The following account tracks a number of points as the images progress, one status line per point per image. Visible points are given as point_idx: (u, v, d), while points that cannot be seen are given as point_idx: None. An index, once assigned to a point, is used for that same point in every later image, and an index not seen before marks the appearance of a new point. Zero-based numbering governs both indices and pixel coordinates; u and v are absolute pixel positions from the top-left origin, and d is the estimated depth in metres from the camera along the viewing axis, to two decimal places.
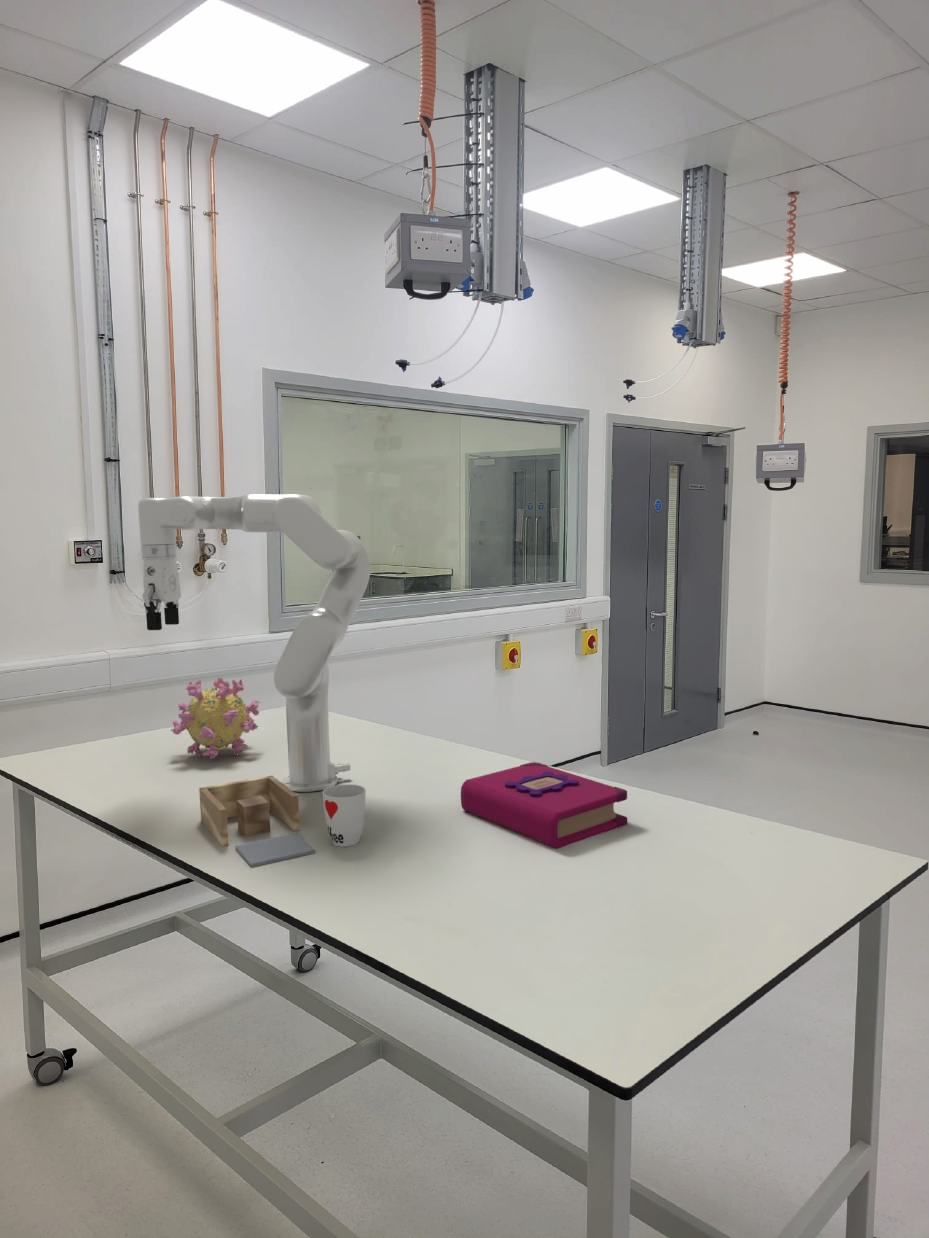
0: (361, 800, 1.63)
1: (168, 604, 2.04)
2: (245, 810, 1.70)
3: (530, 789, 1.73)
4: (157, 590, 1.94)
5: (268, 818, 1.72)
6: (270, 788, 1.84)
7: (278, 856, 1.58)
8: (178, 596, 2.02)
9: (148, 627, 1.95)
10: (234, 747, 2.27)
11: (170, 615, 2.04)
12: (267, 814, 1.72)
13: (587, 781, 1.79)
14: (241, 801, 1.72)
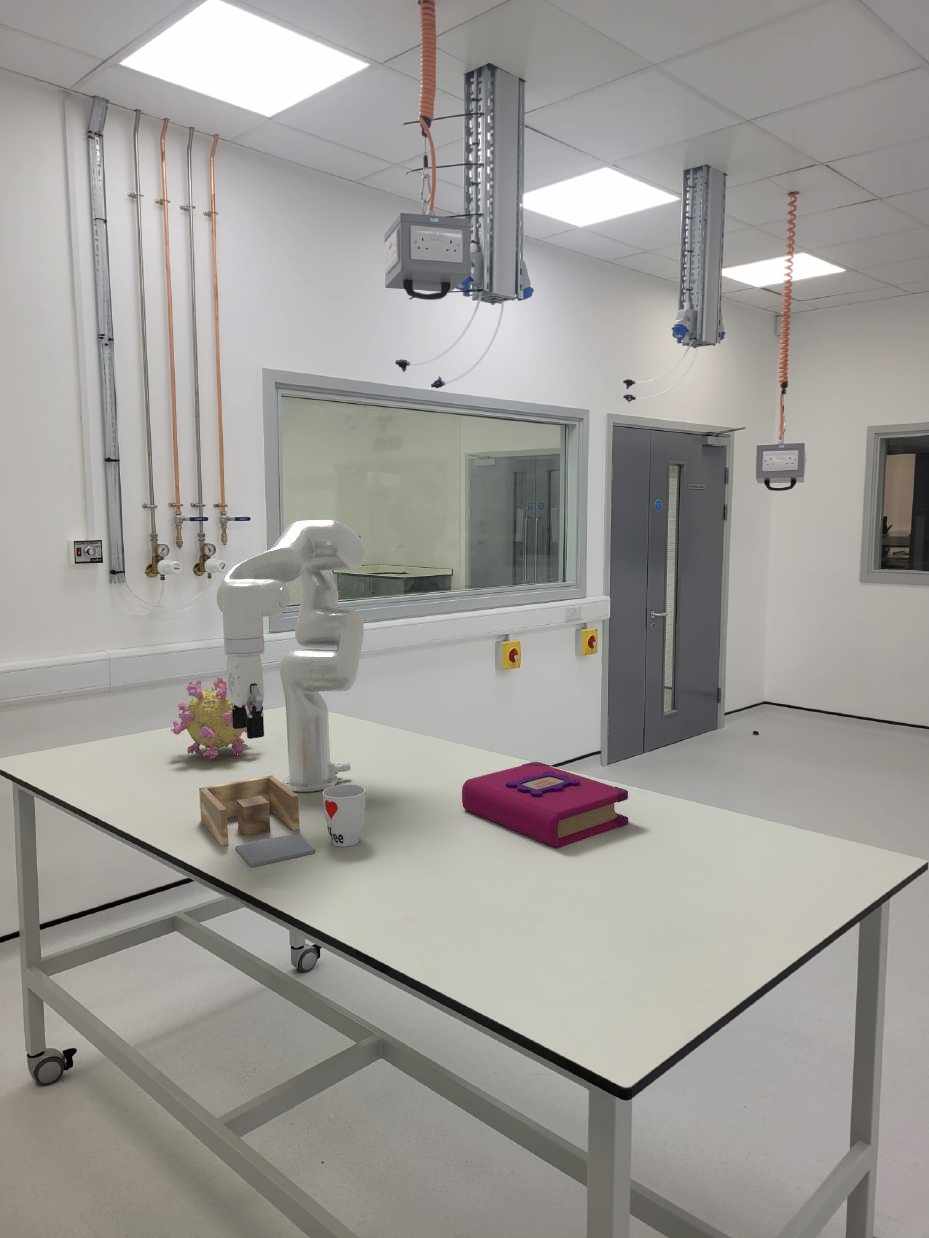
0: (361, 800, 1.63)
1: None
2: (245, 810, 1.70)
3: (531, 789, 1.73)
4: None
5: (268, 818, 1.72)
6: (270, 788, 1.84)
7: (278, 856, 1.58)
8: (236, 702, 1.66)
9: None
10: (234, 747, 2.27)
11: None
12: (267, 814, 1.72)
13: (588, 781, 1.79)
14: (241, 801, 1.72)
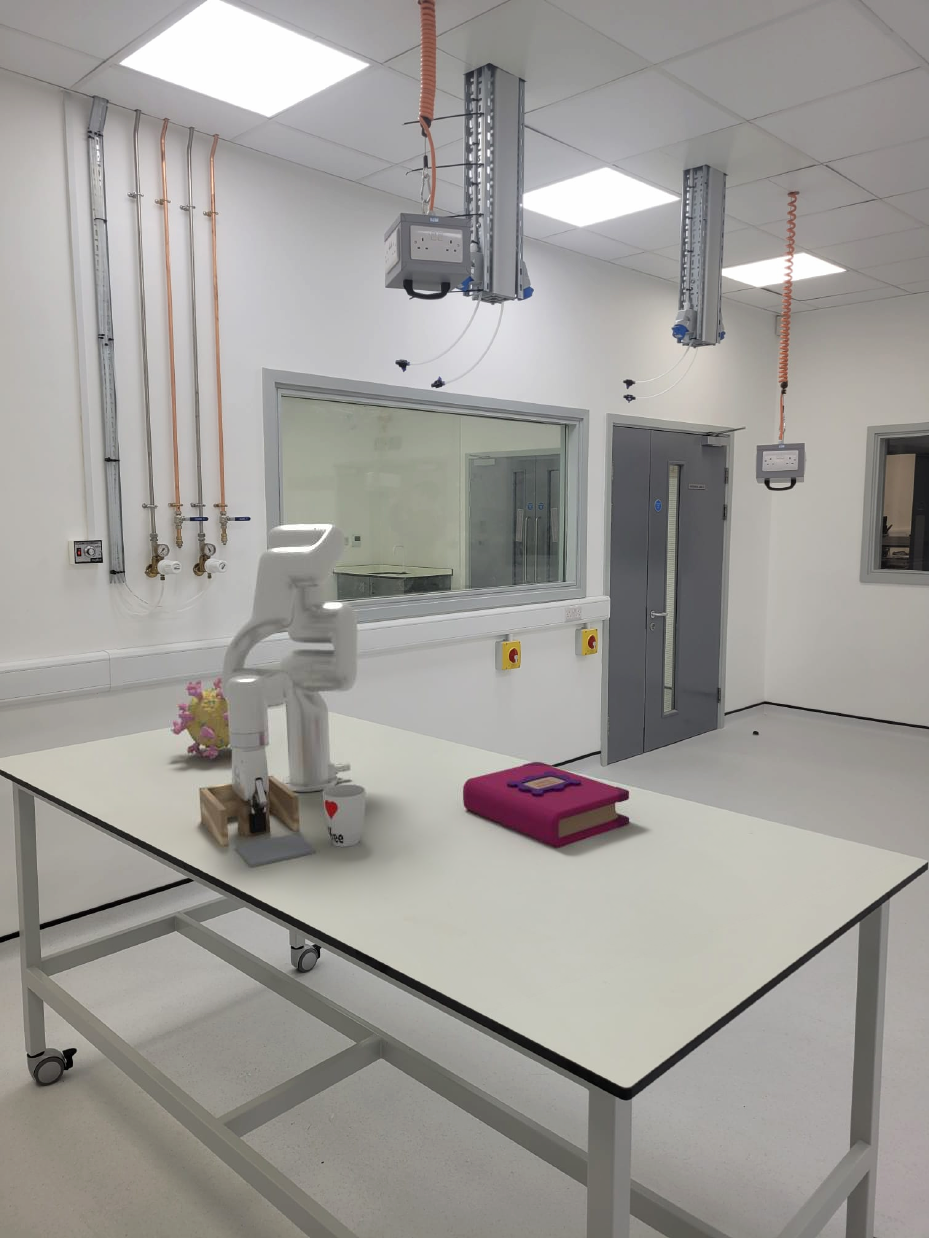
0: (361, 800, 1.63)
1: None
2: (245, 810, 1.70)
3: (532, 788, 1.73)
4: None
5: (268, 818, 1.72)
6: (270, 788, 1.84)
7: (278, 856, 1.58)
8: (242, 795, 1.69)
9: None
10: None
11: None
12: (267, 814, 1.72)
13: (589, 781, 1.79)
14: (241, 801, 1.72)
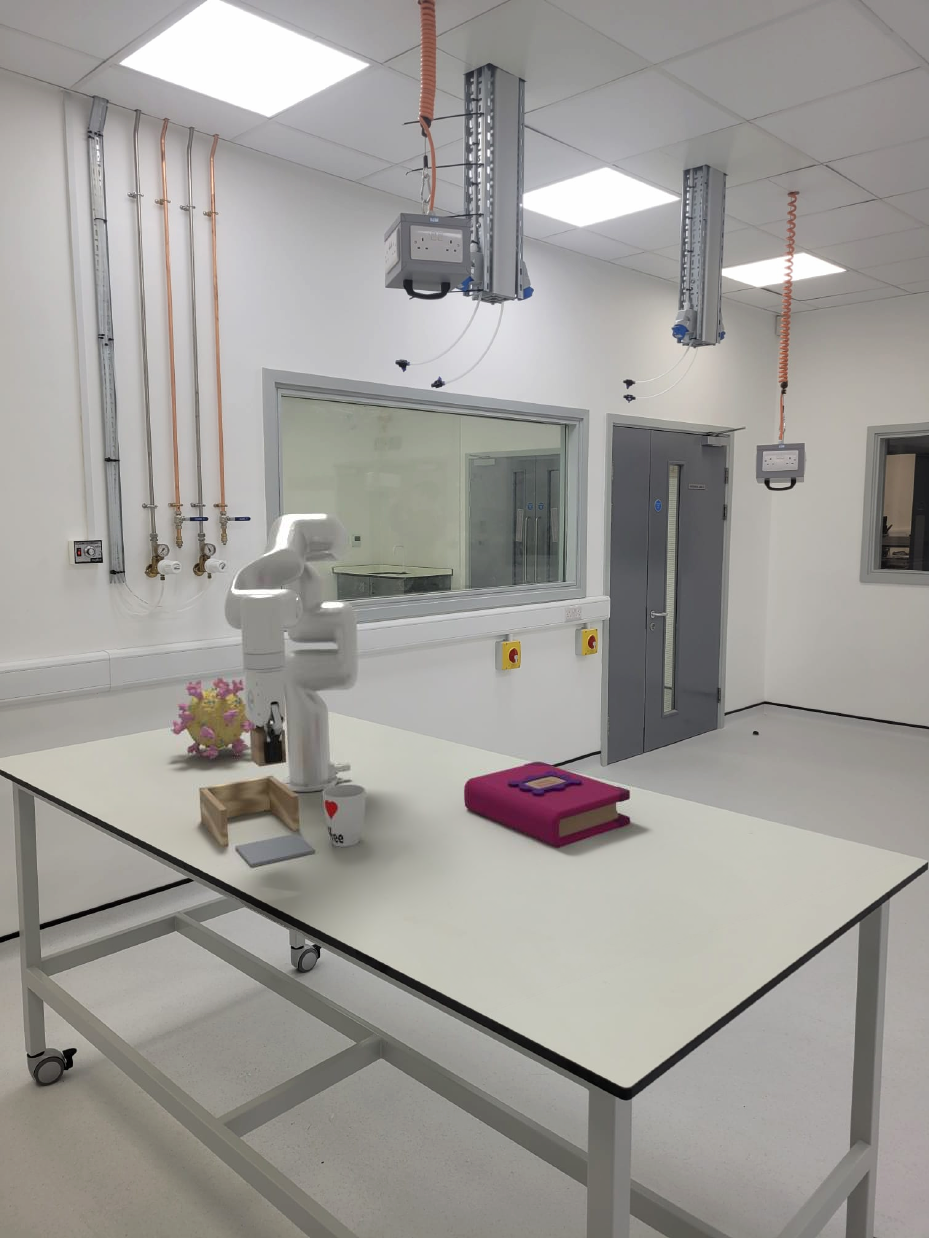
0: (361, 800, 1.63)
1: None
2: (259, 737, 1.57)
3: (533, 788, 1.73)
4: None
5: (284, 747, 1.59)
6: (270, 788, 1.84)
7: (278, 856, 1.58)
8: (256, 721, 1.56)
9: None
10: (234, 747, 2.27)
11: None
12: (283, 743, 1.59)
13: (590, 781, 1.79)
14: (254, 730, 1.60)
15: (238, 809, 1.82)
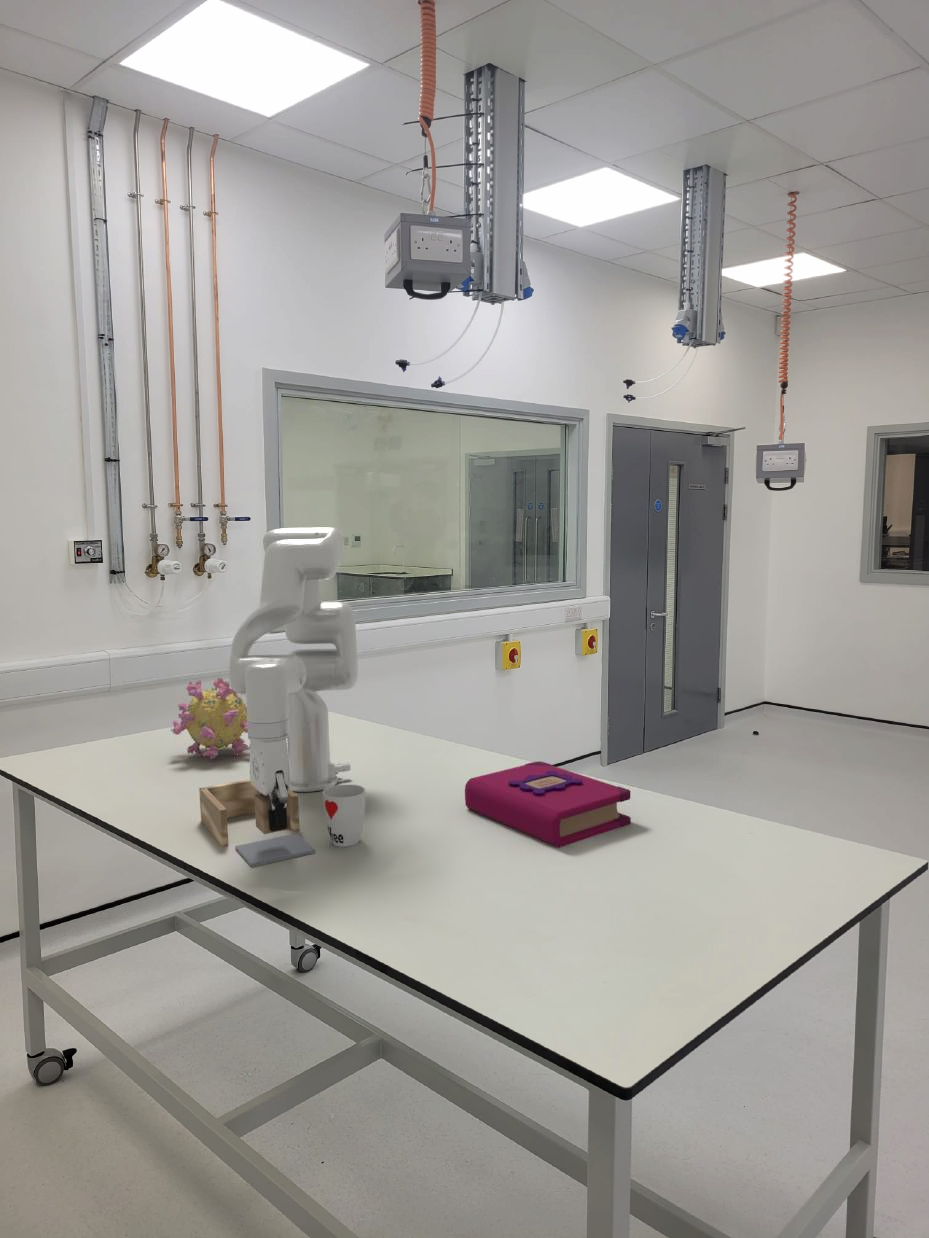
0: (361, 800, 1.63)
1: None
2: (264, 805, 1.58)
3: (533, 788, 1.73)
4: None
5: (288, 814, 1.60)
6: None
7: (278, 856, 1.58)
8: (261, 790, 1.57)
9: None
10: (234, 747, 2.27)
11: None
12: (287, 810, 1.60)
13: (591, 781, 1.79)
14: (259, 796, 1.60)
15: (238, 809, 1.82)
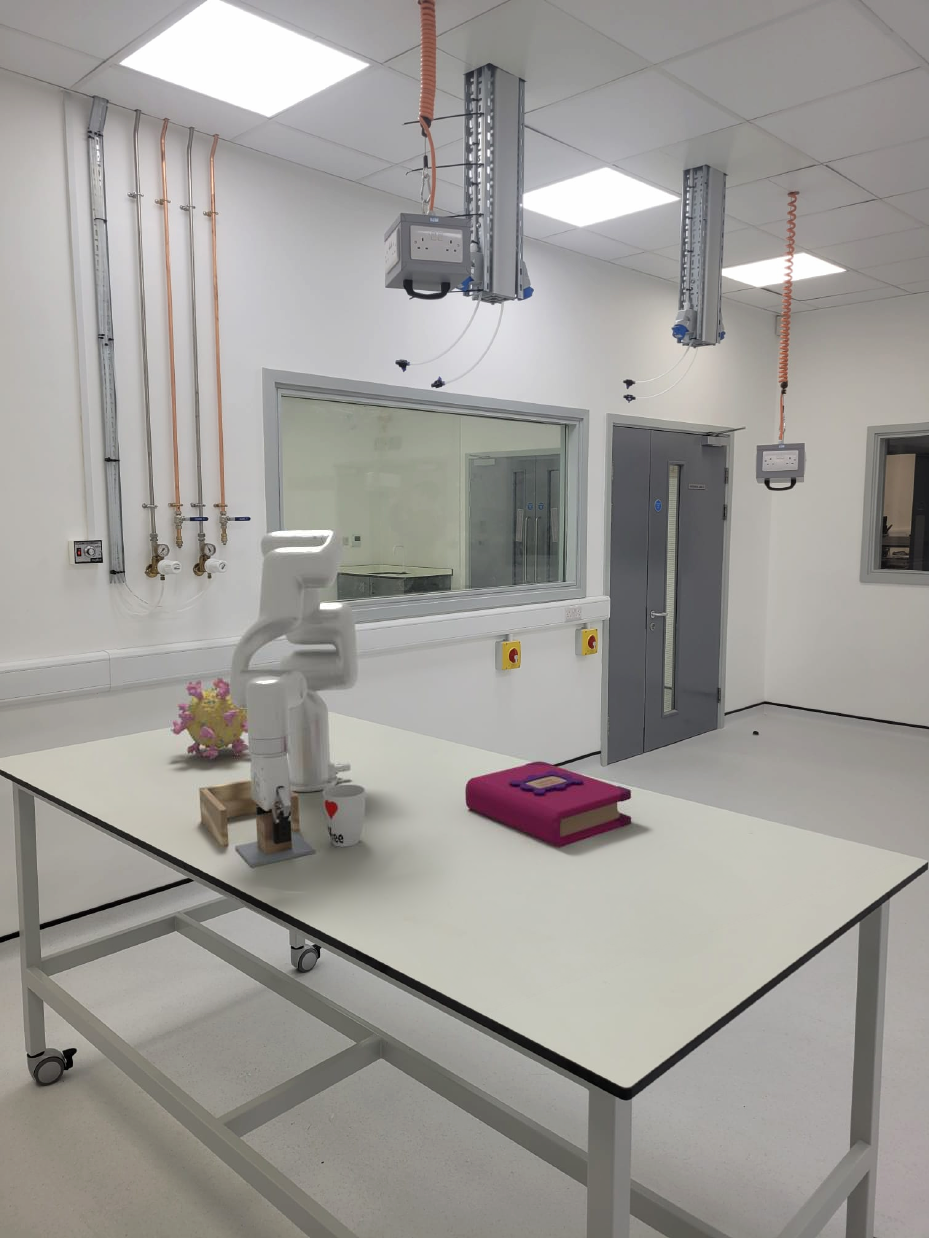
0: (361, 800, 1.63)
1: None
2: (265, 826, 1.58)
3: (534, 788, 1.73)
4: None
5: None
6: None
7: (278, 856, 1.58)
8: (262, 805, 1.57)
9: None
10: (234, 747, 2.27)
11: None
12: None
13: (591, 780, 1.79)
14: (260, 817, 1.61)
15: (238, 809, 1.82)
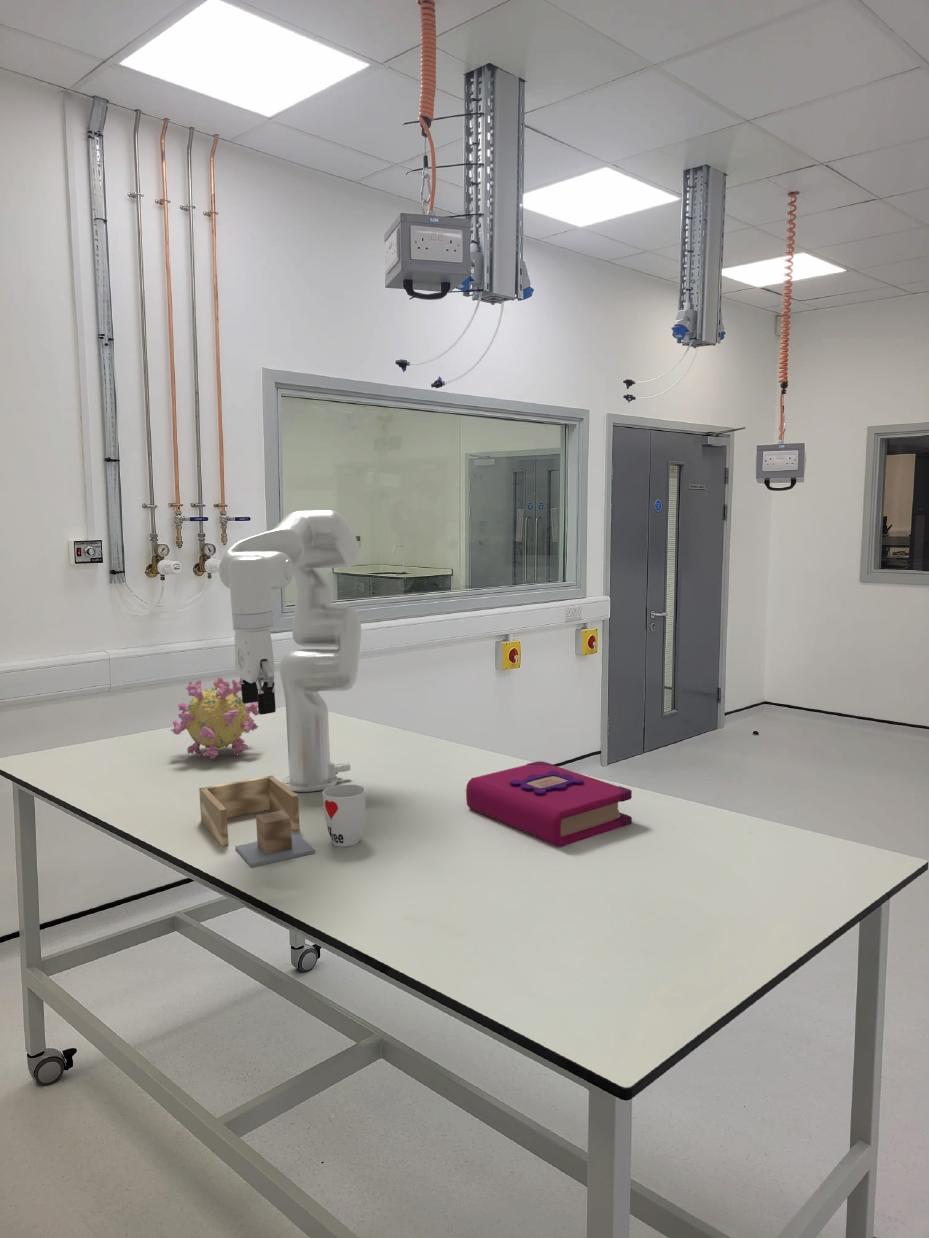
0: (361, 800, 1.63)
1: None
2: (265, 826, 1.58)
3: (534, 788, 1.73)
4: None
5: (290, 835, 1.61)
6: (270, 788, 1.84)
7: (278, 856, 1.58)
8: (247, 678, 1.64)
9: None
10: (234, 747, 2.27)
11: None
12: (289, 831, 1.61)
13: (592, 780, 1.79)
14: (260, 817, 1.61)
15: (238, 809, 1.82)
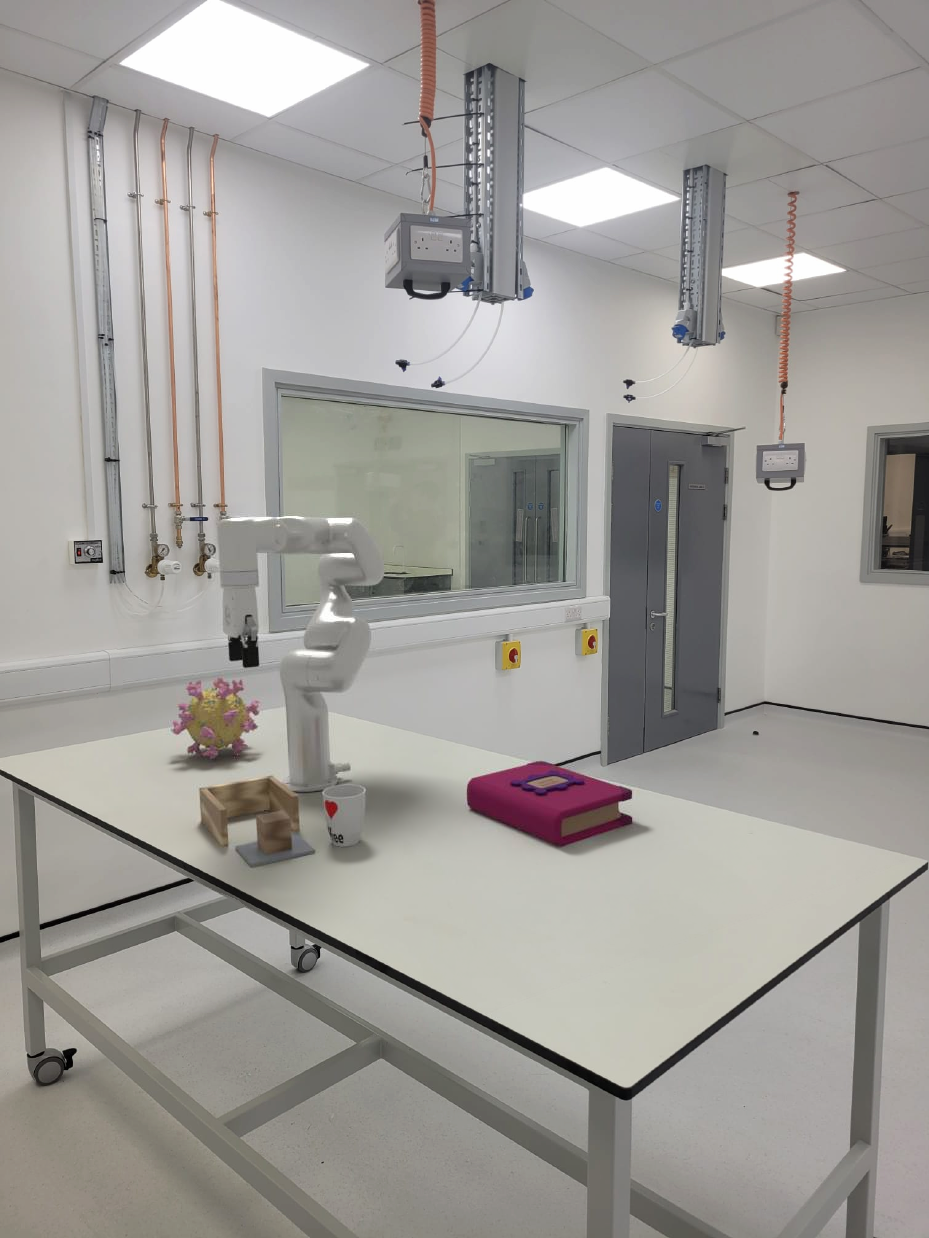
0: (361, 800, 1.63)
1: None
2: (265, 826, 1.58)
3: (535, 788, 1.73)
4: None
5: (290, 835, 1.61)
6: (270, 788, 1.84)
7: (278, 856, 1.58)
8: (232, 633, 1.73)
9: None
10: (234, 747, 2.27)
11: None
12: (289, 831, 1.61)
13: (592, 780, 1.79)
14: (260, 817, 1.61)
15: (238, 809, 1.82)
